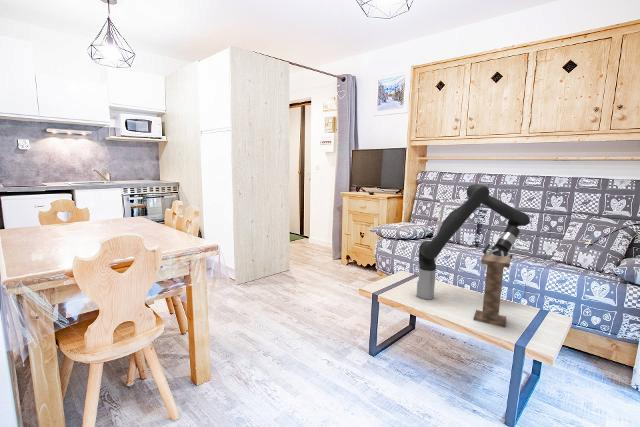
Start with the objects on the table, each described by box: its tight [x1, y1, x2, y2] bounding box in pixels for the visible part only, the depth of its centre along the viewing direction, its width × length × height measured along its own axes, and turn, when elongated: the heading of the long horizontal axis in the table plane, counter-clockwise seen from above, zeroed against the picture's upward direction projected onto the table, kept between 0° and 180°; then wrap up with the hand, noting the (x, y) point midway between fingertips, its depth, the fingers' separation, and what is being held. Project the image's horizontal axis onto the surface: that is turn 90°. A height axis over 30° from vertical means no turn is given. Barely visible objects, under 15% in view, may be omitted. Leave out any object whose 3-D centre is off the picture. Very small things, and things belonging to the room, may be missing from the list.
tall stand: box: [473, 253, 512, 328], centre depth 164 cm, size 14×13×32 cm
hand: (491, 264), depth 183 cm, fingers open, 8 cm apart
